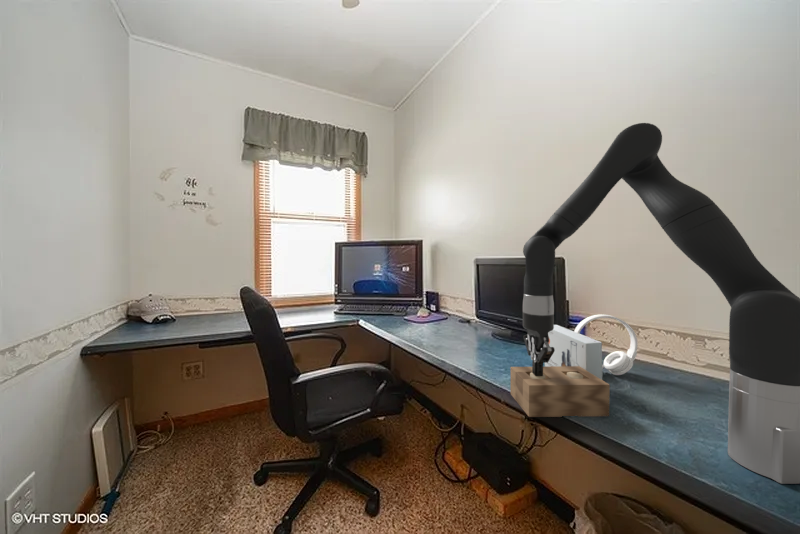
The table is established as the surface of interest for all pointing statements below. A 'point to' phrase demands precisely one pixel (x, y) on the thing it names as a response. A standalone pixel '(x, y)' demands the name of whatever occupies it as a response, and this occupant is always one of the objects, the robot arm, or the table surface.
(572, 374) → the dowel
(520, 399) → the socket board
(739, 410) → the robot arm
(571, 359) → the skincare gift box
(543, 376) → the dowel
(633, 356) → the headphones
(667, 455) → the table surface
